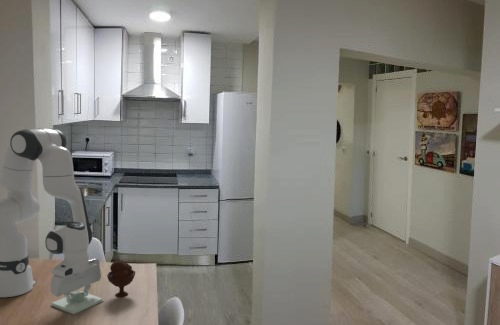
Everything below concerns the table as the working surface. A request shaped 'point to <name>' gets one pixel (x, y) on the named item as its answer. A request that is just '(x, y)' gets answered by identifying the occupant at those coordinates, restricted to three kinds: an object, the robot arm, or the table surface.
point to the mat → (75, 313)
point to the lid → (77, 302)
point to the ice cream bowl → (121, 276)
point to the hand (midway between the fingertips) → (77, 299)
